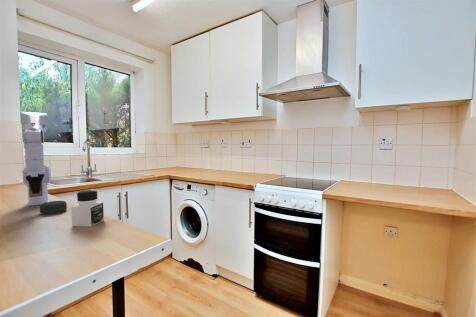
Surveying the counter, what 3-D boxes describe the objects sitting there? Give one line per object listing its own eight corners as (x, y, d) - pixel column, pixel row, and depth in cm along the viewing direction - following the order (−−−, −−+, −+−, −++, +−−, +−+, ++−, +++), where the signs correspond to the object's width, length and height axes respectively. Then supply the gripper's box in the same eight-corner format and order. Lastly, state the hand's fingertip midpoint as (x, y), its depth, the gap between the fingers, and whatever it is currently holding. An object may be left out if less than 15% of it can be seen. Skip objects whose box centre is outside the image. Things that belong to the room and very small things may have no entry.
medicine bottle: (91, 226, 80) (90, 192, 79) (71, 226, 80) (70, 192, 79) (104, 220, 87) (103, 188, 86) (85, 220, 87) (84, 188, 87)
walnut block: (30, 195, 96) (29, 183, 96) (42, 194, 99) (42, 182, 99) (29, 197, 93) (28, 185, 93) (42, 196, 96) (41, 184, 95)
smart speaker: (68, 212, 98) (67, 203, 97) (40, 216, 92) (40, 206, 91) (65, 208, 104) (64, 199, 104) (39, 212, 98) (38, 202, 98)
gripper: (23, 159, 98) (25, 190, 99) (19, 161, 87) (21, 196, 88) (44, 158, 103) (46, 188, 104) (43, 160, 92) (45, 194, 92)
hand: (36, 192), depth 96 cm, fingers closed on walnut block, 4 cm apart
